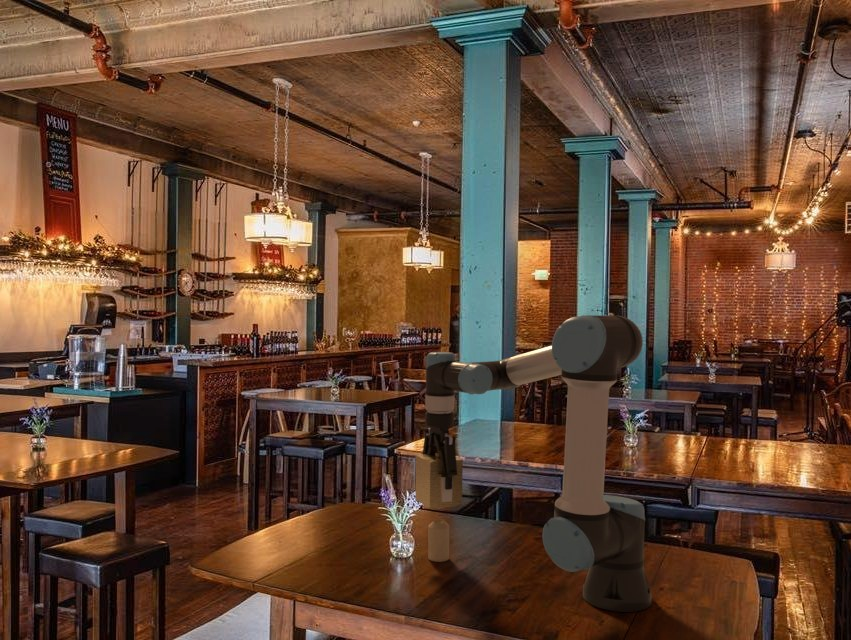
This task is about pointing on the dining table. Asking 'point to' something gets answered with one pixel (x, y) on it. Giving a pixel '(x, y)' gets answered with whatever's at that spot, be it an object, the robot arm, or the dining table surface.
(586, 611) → the dining table surface
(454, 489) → the tan box with knob
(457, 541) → the dining table surface
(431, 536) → the candle
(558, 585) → the dining table surface
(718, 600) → the dining table surface
